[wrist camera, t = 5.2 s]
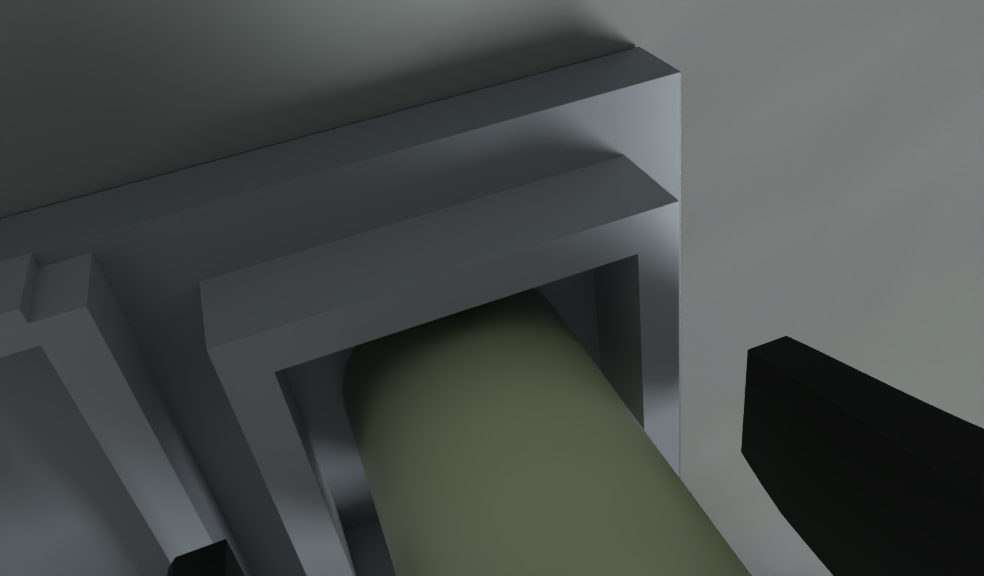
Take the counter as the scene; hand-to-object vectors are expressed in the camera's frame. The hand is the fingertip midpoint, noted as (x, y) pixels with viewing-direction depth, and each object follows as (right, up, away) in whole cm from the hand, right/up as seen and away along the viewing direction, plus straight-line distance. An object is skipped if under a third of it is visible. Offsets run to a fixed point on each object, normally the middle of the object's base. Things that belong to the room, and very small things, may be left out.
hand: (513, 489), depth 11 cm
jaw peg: (-1, +1, +2) cm, 2 cm away
